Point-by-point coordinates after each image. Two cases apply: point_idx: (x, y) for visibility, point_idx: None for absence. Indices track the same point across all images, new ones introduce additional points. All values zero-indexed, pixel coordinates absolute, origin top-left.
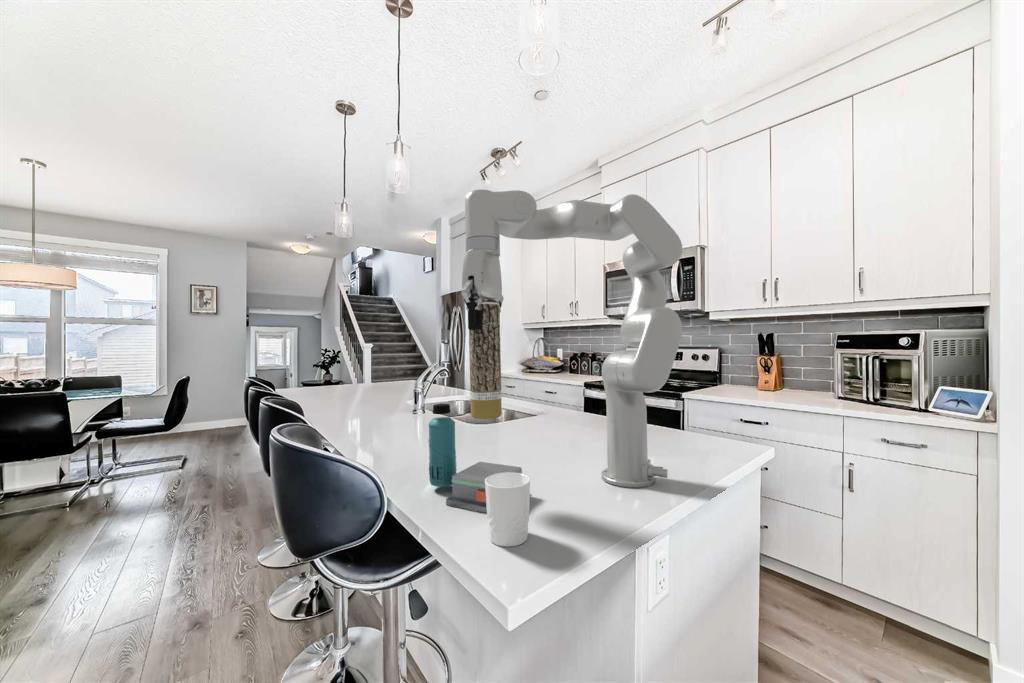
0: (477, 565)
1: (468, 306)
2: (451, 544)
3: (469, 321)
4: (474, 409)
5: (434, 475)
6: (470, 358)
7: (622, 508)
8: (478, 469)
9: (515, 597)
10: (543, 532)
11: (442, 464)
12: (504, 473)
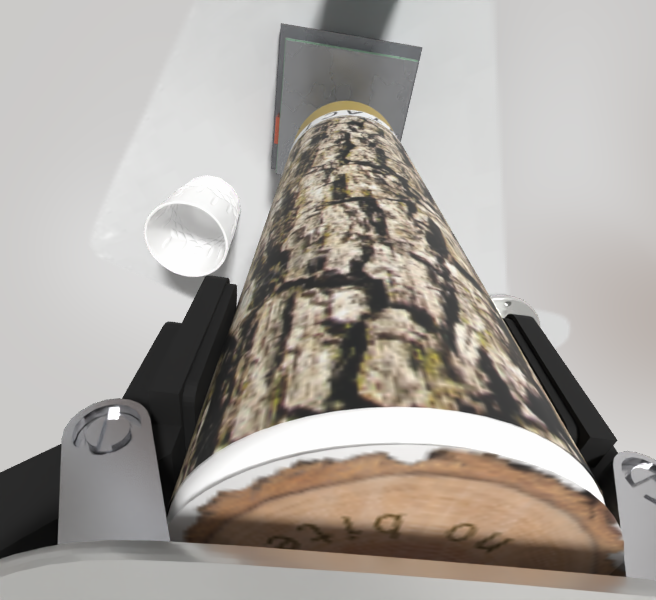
0: (125, 189)
1: (45, 467)
2: (150, 125)
3: (157, 337)
4: (294, 140)
5: None
6: (288, 180)
7: None
8: (350, 90)
9: (99, 252)
10: (246, 246)
11: None
12: (218, 224)
